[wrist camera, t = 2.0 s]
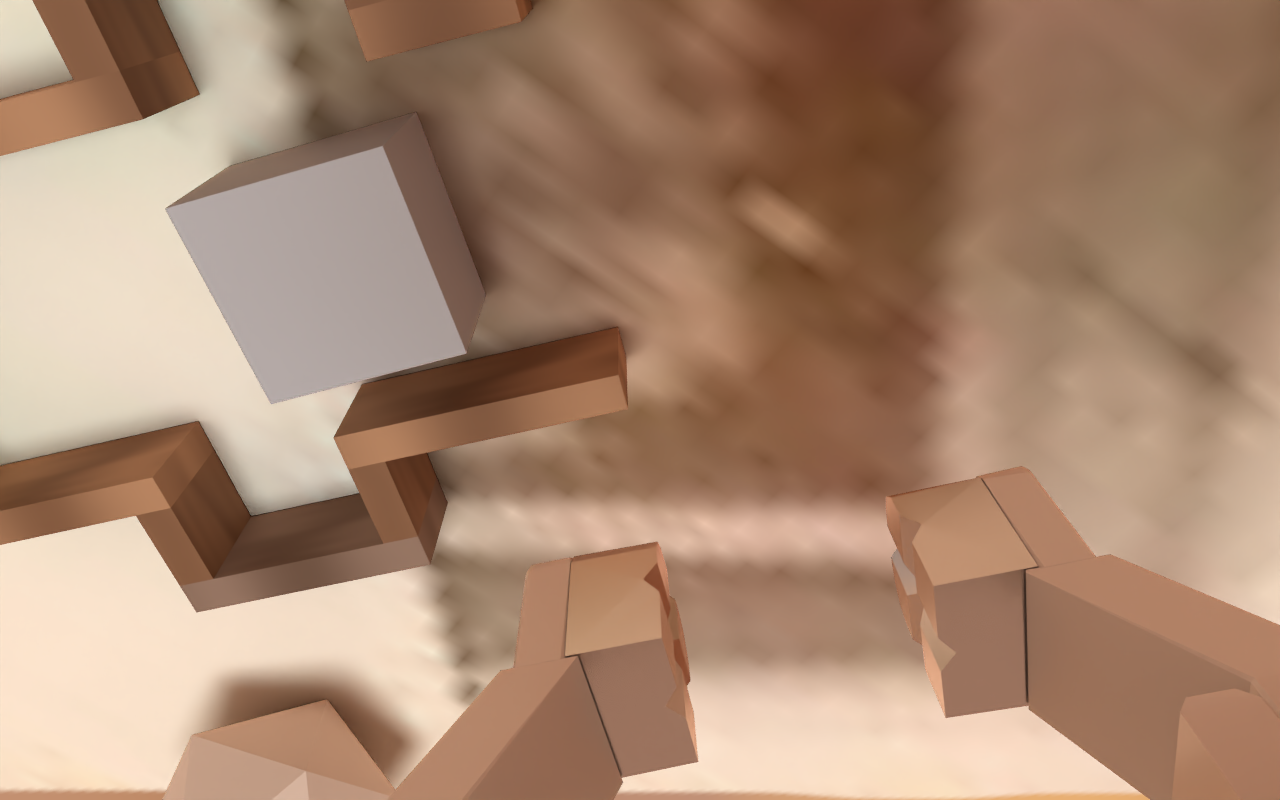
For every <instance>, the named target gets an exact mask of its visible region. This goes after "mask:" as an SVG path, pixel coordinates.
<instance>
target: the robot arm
mask: <svg viewBox="0 0 1280 800" xmlns="http://www.w3.org/2000/svg"><path fill="white" fill-rule="evenodd" d="M886 516H887V525H888V528H889V530H890V533H891V535H892V537H893V540H894V542H895V544H896V547H897V549H896V551H895V552H894V554H893V555H892V557H891V559H892V566H893V573H894V579H895V584H896V589H897V593H898V598H899V602H900V606H901V609H902V612H903V615H904V618H905V621H906V624H907V626H908V629H909V631H910V634H911V636H912V639H913V640H915V641H916V642H918V643H920V644H921V645H922V646H923V655H924V663H925V670H926V673H927V675H928V678H929V680H930V682H931V685H932V687H933V689H934V692H935V694H936V696H937V699H938V701H939V703H940V706H941V708H942V710H943V713H944V715H945V718H948V717H955V716H962V715H968V714H975V713H982V712H988V711H995V710H1002V709H1008V708H1015V707H1022V706H1028V705H1029V710H1030V711H1032V712H1033V713H1034V714H1036V715H1037V716H1038V717H1040V718H1041V719H1042V720H1044V721H1045V722H1047V723H1048V724H1049V725H1051V726H1052V727H1053V728H1055V729H1056V730H1057V731H1059V732H1060V733H1061V734H1063V735H1064V736H1065V737H1067V738H1068V739H1069V740H1071V741H1072V742H1073V743H1075V744H1076V745H1077V746H1079V747H1080V748H1081V749H1083V750H1084V751H1086V752H1087V753H1088V754H1090V755H1091V756H1092V757H1094V758H1095V759H1096V760H1098V761H1099V762H1100V763H1102V764H1103V765H1104V766H1106V767H1107V768H1108V769H1110V770H1111V771H1112V772H1114V773H1115V774H1116V775H1118V776H1119V777H1120V778H1122V779H1123V780H1125V781H1126V782H1127V783H1129V784H1130V785H1131V786H1133V787H1134V788H1135V789H1137V790H1138V791H1139V792H1141V793H1142V794H1143V795H1145V796H1146V797H1148V798H1149V799H1150V800H1280V625H1278V624H1276V623H1273V622H1271V621H1268V620H1266V619H1264V618H1261V617H1259V616H1256V615H1254V614H1252V613H1249V612H1247V611H1245V610H1242V609H1240V608H1237V607H1235V606H1233V605H1230V604H1228V603H1225V602H1223V601H1221V600H1218V599H1216V598H1213V597H1211V596H1209V595H1206V594H1204V593H1201V592H1199V591H1197V590H1194V589H1192V588H1190V587H1187V586H1185V585H1182V584H1180V583H1178V582H1175V581H1173V580H1170V579H1168V578H1166V577H1163V576H1161V575H1158V574H1156V573H1154V572H1151V571H1149V570H1147V569H1144V568H1142V567H1139V566H1137V565H1135V564H1132V563H1130V562H1127V561H1125V560H1123V559H1120V558H1118V557H1115V556H1113V555H1104V556H1099V557H1096V556H1095V555H1094V554H1093V552H1092V551H1091V550H1090V548H1089V547H1088V546H1087V544H1086V543H1085V542H1084V540H1083V539H1082V538H1081V537H1080V535H1079V534H1078V533H1077V531H1076V530H1075V529H1074V527H1073V526H1072V525H1071V523H1070V522H1069V521H1068V520H1067V518H1066V517H1065V516H1064V514H1063V513H1062V512H1061V510H1060V509H1059V508H1058V506H1057V505H1056V504H1055V503H1054V501H1053V500H1052V499H1051V497H1050V496H1049V495H1048V493H1047V492H1046V491H1045V489H1044V488H1043V487H1042V486H1041V484H1040V483H1039V482H1038V480H1037V479H1036V478H1035V476H1034V475H1033V474H1032V472H1031V471H1030V470H1029V469H1027V468H1024V467H1022V466H1020V467H1016V468H1011V469H1007V470H1003V471H998V472H994V473H989V474H985V475H981V476H976V478H975V479H969V480H965V481H960V482H955V483H950V484H945V485H940V486H935V487H930V488H926V489H921V490H916V491H911V492H906V493H901V494H896V495H891V496H886ZM689 682H690V672H689V663H688V656H687V650H686V644H685V638H684V633H683V628H682V624H681V619H680V615H679V611H678V607H677V604H676V600H675V599H674V598H673V597H671V596H670V595H669V584H668V573H667V567H666V564H665V561H664V557H663V554H662V551H661V548H660V546H659V544H658V542H653V543H647V544H641V545H636V546H630V547H625V548H619V549H613V550H608V551H602V552H596V553H591V554H585V555H580V556H574V558H565V559H560V560H554V561H549V562H544V563H539V564H534V565H531V567H530V568H529V570H528V571H527V573H526V578H525V586H524V593H523V600H522V607H521V615H520V622H519V629H518V637H517V644H516V651H515V658H514V666H513V668H511V669H506V670H501V671H500V672H499V673H498V674H497V675H496V676H495V678H494V679H493V680H492V681H491V682H490V683H489V684H488V685H487V687H486V688H485V689H484V690H483V691H482V692H481V693H480V695H479V696H478V697H477V698H476V699H475V700H474V701H473V703H472V704H471V705H470V706H469V707H468V708H467V709H466V711H465V712H464V713H463V714H462V715H461V716H460V717H459V718H458V720H457V721H456V722H455V723H454V724H453V725H452V726H451V728H450V729H449V730H448V731H447V732H446V733H445V734H444V736H443V737H442V738H441V739H440V740H439V741H438V742H437V743H436V745H435V746H434V747H433V748H432V749H431V750H430V751H429V753H428V754H427V755H426V756H425V757H424V758H423V759H422V761H421V762H420V763H419V764H418V765H417V766H416V767H415V769H414V770H413V771H412V772H411V773H410V774H409V775H408V776H407V778H406V779H405V780H404V781H403V782H402V783H401V784H400V786H399V787H398V788H397V789H396V790H395V791H394V792H393V794H392V795H391V796H390V797H389V798H388V799H387V800H614V798H615V796H616V794H617V792H618V790H619V789H620V787H621V785H622V783H623V781H622V779H621V778H622V777H627V776H632V775H637V774H642V773H647V772H651V771H656V770H661V769H666V768H671V767H676V766H680V765H685V764H690V763H695V762H698V754H697V743H696V732H695V721H694V712H693V708H692V704H691V701H690V697H689V693H688V690H687V685H688V683H689Z"/></svg>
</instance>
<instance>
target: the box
mask: <svg viewBox="0 0 1280 800" xmlns="http://www.w3.org/2000/svg"><path fill="white" fill-rule="evenodd" d="M344 1H345V3H346V6H347V9H348V12H349V14H350V17H351V20H352V23H353V26H354V28H355V31H356V34H357V37H358V39H359V42H360V45H361V48H362V51H363V53H364V56H365V59H366V62H367V61H371V60H375V59H378V58H382V57H386V56H390V55H394V54H398V53H402V52H406V51H409V50H413V49H417V48H421V47H425V46H429V45H433V44H437V43H440V42H444V41H448V40H452V39H456V38H460V37H464V36H468V35H472V34H475V33H479V32H483V31H487V30H491V29H495V28H499V27H503V26H506V25H510V24H514V23H518V22H521V21H522V20H523V19H524V18H525V17H526V16H527V14H528V13H529V12H530V11H531V10H532V9H533V8H532V4H531V1H530V0H344ZM33 2H34V4H35V6H36V8H37V10H38V12H39V14H40V16H41V18H42V20H43V22H44V23H45V25H46V27H47V29H48V31H49V33H50V35H51V37H52V39H53V41H54V43H55V45H56V47H57V49H58V51H59V52H60V54H61V56H62V58H63V60H64V62H65V64H66V66H67V68H68V70H69V72H70V74H71V76H72V78H73V80H70V81H67V82H63V83H59V84H55V85H51V86H48V87H44V88H40V89H36V90H32V91H29V92H25V93H21V94H17V95H13V96H10V97H6V98H2V99H0V156H2V155H6V154H10V153H14V152H18V151H21V150H25V149H29V148H33V147H37V146H41V145H45V144H49V143H52V142H56V141H60V140H64V139H68V138H72V137H76V136H80V135H84V134H87V133H91V132H95V131H99V130H103V129H107V128H111V127H115V126H118V125H122V124H126V123H130V122H134V121H138V120H142V119H145V118H147V117H149V116H152V115H154V114H156V113H158V112H161V111H163V110H165V109H168V108H170V107H172V106H175V105H177V104H179V103H181V102H184V101H186V100H188V99H191V98H193V97H195V96H198V95H199V93H198V90H197V88H196V86H195V84H194V82H193V79H192V77H191V75H190V73H189V71H188V68H187V66H186V64H185V62H184V60H183V57H182V55H181V53H180V51H179V49H178V46H177V44H176V42H175V40H174V38H173V35H172V33H171V31H170V29H169V27H168V24H167V22H166V20H165V18H164V16H163V13H162V11H161V9H160V7H159V5H158V2H157V0H33ZM626 409H628V397H627V364H626V355H625V352H624V348H623V344H622V341H621V337H620V333H619V329H618V327H616V328H612V329H607V330H603V331H598V332H594V333H589V334H585V335H581V336H576V337H572V338H567V339H563V340H558V341H554V342H549V343H545V344H541V345H536V346H532V347H527V348H523V349H518V350H514V351H509V352H505V353H501V354H496V355H492V356H487V357H483V358H478V359H474V360H469V361H465V362H460V363H456V364H452V365H447V366H443V367H438V368H434V369H429V370H425V371H420V372H416V373H412V374H407V375H403V376H398V377H394V378H389V379H385V380H380V381H376V382H371V383H367V384H363V385H361V387H360V389H359V391H358V393H357V395H356V397H355V398H354V400H353V402H352V404H351V406H350V408H349V410H348V412H347V413H346V415H345V417H344V419H343V421H342V423H341V425H340V426H339V428H338V430H337V432H336V434H335V436H334V440H335V442H336V444H337V446H338V448H339V450H340V453H341V455H342V457H343V459H344V461H345V463H346V465H347V467H348V470H349V472H350V474H351V476H352V478H353V480H354V482H355V485H356V487H357V489H358V491H359V493H360V494H356V495H351V496H346V497H341V498H337V499H332V500H327V501H323V502H318V503H313V504H309V505H304V506H299V507H295V508H290V509H285V510H281V511H276V512H271V513H267V514H262V515H257V516H253V517H251V516H250V515H249V513H248V511H247V509H246V507H245V505H244V504H243V502H242V500H241V498H240V496H239V495H238V493H237V491H236V489H235V487H234V485H233V484H232V482H231V480H230V478H229V476H228V475H227V473H226V471H225V469H224V467H223V465H222V464H221V462H220V460H219V458H218V456H217V455H216V453H215V451H214V449H213V447H212V445H211V444H210V442H209V440H208V438H207V436H206V435H205V433H204V431H203V429H202V427H201V425H200V424H199V422H194V423H189V424H185V425H180V426H176V427H171V428H167V429H162V430H158V431H153V432H149V433H145V434H140V435H136V436H131V437H127V438H122V439H118V440H113V441H109V442H105V443H100V444H96V445H91V446H87V447H82V448H78V449H73V450H69V451H65V452H60V453H56V454H51V455H47V456H42V457H38V458H33V459H29V460H24V461H20V462H16V463H11V464H7V465H2V466H0V545H2V544H7V543H11V542H16V541H20V540H25V539H30V538H34V537H39V536H44V535H48V534H53V533H57V532H62V531H67V530H71V529H76V528H81V527H85V526H90V525H94V524H99V523H104V522H108V521H113V520H117V519H122V518H127V517H131V516H137V518H138V520H139V521H140V523H141V524H142V526H143V528H144V529H145V531H146V532H147V534H148V536H149V537H150V539H151V540H152V542H153V544H154V545H155V547H156V548H157V550H158V552H159V553H160V555H161V556H162V558H163V560H164V561H165V563H166V564H167V566H168V567H169V569H170V571H171V572H172V574H173V575H174V577H175V579H176V580H177V582H178V583H179V585H180V587H181V588H182V590H183V591H184V593H185V595H186V596H187V598H188V599H189V601H190V603H191V604H192V606H193V607H194V609H195V611H196V612H201V611H206V610H211V609H215V608H220V607H225V606H230V605H235V604H240V603H245V602H250V601H254V600H259V599H264V598H269V597H274V596H279V595H284V594H289V593H293V592H298V591H303V590H308V589H313V588H318V587H323V586H328V585H333V584H337V583H342V582H347V581H352V580H357V579H362V578H367V577H372V576H376V575H381V574H386V573H391V572H396V571H401V570H406V569H411V568H415V567H420V566H425V565H430V564H431V560H432V557H433V553H434V550H435V546H436V543H437V539H438V535H439V532H440V528H441V525H442V521H443V518H444V514H445V511H446V507H447V501H446V499H445V496H444V494H443V491H442V489H441V487H440V484H439V482H438V479H437V477H436V475H435V472H434V470H433V467H432V465H431V462H430V460H429V458H428V455H427V452H432V451H436V450H441V449H446V448H450V447H455V446H459V445H464V444H469V443H473V442H478V441H483V440H487V439H492V438H496V437H501V436H506V435H510V434H515V433H520V432H524V431H529V430H533V429H538V428H543V427H547V426H552V425H557V424H561V423H566V422H570V421H575V420H580V419H584V418H589V417H593V416H598V415H603V414H607V413H612V412H617V411H621V410H626Z"/></svg>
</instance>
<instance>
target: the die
mask: <svg viewBox="0 0 1280 800" xmlns="http://www.w3.org/2000/svg"><path fill="white" fill-rule="evenodd" d="M394 791H395V789H394V788H393V786H392V785H391V784H390V782H389V781H388V780H387V778H386V777H385V776H384V774H383V773H382V772H381V770H380V769H379V768H378V766H377V765H376V764H375V762H374V761H373V760H372V758H371V757H370V756H369V754H368V753H367V752H366V750H365V749H364V748H363V746H362V745H361V744H360V742H359V741H358V740H357V738H356V737H355V736H354V734H353V733H352V732H351V730H350V729H349V728H348V726H347V725H346V724H345V722H344V721H343V720H342V718H341V717H340V716H339V714H338V713H337V712H336V710H335V709H334V708H333V706H332V705H331V704H330V702H329V701H328V700H327V699H326V700H322V701H318V702H315V703H311V704H307V705H303V706H299V707H296V708H292V709H288V710H284V711H281V712H277V713H273V714H269V715H265V716H262V717H258V718H254V719H250V720H246V721H243V722H239V723H235V724H231V725H228V726H224V727H220V728H216V729H212V730H209V731H205V732H201V733H197V734H194V735H192V736H191V738H190V740H189V742H188V744H187V747H186V749H185V751H184V753H183V755H182V758H181V760H180V762H179V764H178V766H177V769H176V771H175V773H174V775H173V777H172V780H171V782H170V784H169V786H168V788H167V791H166V793H165V795H164V797H163V799H162V800H387V799H388V798H389V797H390V796H391V795H392V794H393V792H394Z"/></svg>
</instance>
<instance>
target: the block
mask: <svg viewBox="0 0 1280 800" xmlns="http://www.w3.org/2000/svg"><path fill="white" fill-rule="evenodd" d="M165 210H166V212H167V213H168V215H169V217H170V219H171V221H172V223H173V224H174V226H175V228H176V230H177V232H178V234H179V235H180V237H181V239H182V241H183V243H184V245H185V247H186V248H187V250H188V252H189V254H190V256H191V258H192V259H193V261H194V263H195V265H196V267H197V269H198V271H199V272H200V274H201V276H202V278H203V280H204V282H205V283H206V285H207V287H208V289H209V291H210V293H211V294H212V296H213V298H214V300H215V302H216V304H217V306H218V307H219V309H220V311H221V313H222V315H223V317H224V318H225V320H226V322H227V324H228V326H229V328H230V330H231V331H232V333H233V335H234V337H235V339H236V341H237V342H238V344H239V346H240V348H241V350H242V352H243V353H244V355H245V357H246V359H247V361H248V363H249V365H250V366H251V368H252V370H253V372H254V374H255V376H256V377H257V379H258V381H259V383H260V385H261V387H262V388H263V390H264V392H265V394H266V396H267V398H268V400H269V401H270V403H271V404H274V403H277V402H281V401H285V400H289V399H293V398H297V397H301V396H304V395H308V394H312V393H316V392H320V391H324V390H328V389H331V388H335V387H339V386H343V385H347V384H351V383H355V382H358V381H362V380H366V379H370V378H374V377H378V376H382V375H385V374H389V373H393V372H397V371H401V370H405V369H409V368H412V367H416V366H420V365H424V364H428V363H432V362H436V361H439V360H443V359H447V358H451V357H455V356H459V355H463V354H466V353H467V351H468V348H469V345H470V342H471V339H472V336H473V333H474V330H475V327H476V324H477V321H478V318H479V315H480V312H481V309H482V306H483V303H484V300H485V297H486V294H485V291H484V289H483V286H482V283H481V281H480V278H479V275H478V273H477V270H476V268H475V265H474V262H473V260H472V257H471V254H470V252H469V249H468V246H467V244H466V241H465V239H464V236H463V233H462V231H461V228H460V225H459V223H458V220H457V217H456V215H455V212H454V210H453V207H452V204H451V202H450V199H449V196H448V194H447V191H446V188H445V186H444V183H443V181H442V178H441V175H440V173H439V170H438V167H437V165H436V162H435V159H434V157H433V154H432V152H431V149H430V146H429V144H428V141H427V138H426V136H425V133H424V130H423V128H422V125H421V123H420V120H419V117H418V115H417V112H414V113H410V114H407V115H403V116H400V117H396V118H393V119H390V120H386V121H383V122H379V123H376V124H372V125H369V126H366V127H362V128H359V129H355V130H352V131H348V132H345V133H341V134H338V135H335V136H331V137H328V138H324V139H321V140H317V141H314V142H311V143H307V144H304V145H300V146H297V147H293V148H290V149H286V150H283V151H280V152H276V153H273V154H269V155H266V156H262V157H259V158H256V159H252V160H249V161H245V162H242V163H238V164H235V165H231V166H229V167H227V168H226V169H224V170H223V171H221V172H220V173H218V174H217V175H215V176H214V177H212V178H210V179H209V180H207V181H206V182H204V183H203V184H201V185H200V186H198V187H197V188H195V189H194V190H192V191H191V192H189V193H188V194H186V195H185V196H183V197H182V198H180V199H179V200H177V201H176V202H174V203H173V204H171V205H170V206H168V207H167V208H165Z"/></svg>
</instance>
